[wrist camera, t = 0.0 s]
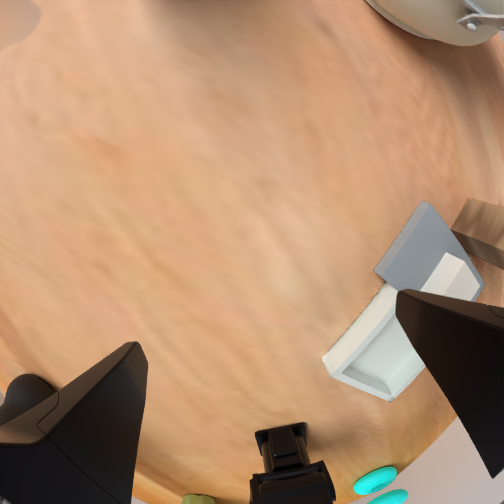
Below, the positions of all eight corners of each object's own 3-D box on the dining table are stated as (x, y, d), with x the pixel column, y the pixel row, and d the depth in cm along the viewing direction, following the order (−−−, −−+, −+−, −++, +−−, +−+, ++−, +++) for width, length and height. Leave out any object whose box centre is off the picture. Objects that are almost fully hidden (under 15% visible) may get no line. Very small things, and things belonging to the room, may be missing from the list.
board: (441, 332, 28) (448, 338, 27) (373, 270, 25) (380, 276, 23) (478, 280, 27) (485, 284, 25) (420, 200, 23) (430, 203, 22)
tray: (381, 387, 30) (391, 402, 27) (321, 358, 27) (330, 376, 24) (435, 326, 28) (448, 338, 25) (386, 281, 25) (401, 294, 22)
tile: (439, 311, 25) (454, 323, 23) (419, 291, 24) (436, 303, 21) (463, 276, 25) (480, 285, 22) (446, 252, 23) (464, 261, 20)
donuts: (389, 513, 33) (355, 522, 31) (376, 483, 42) (343, 489, 40) (419, 492, 30) (385, 503, 28) (402, 461, 40) (369, 467, 38)
